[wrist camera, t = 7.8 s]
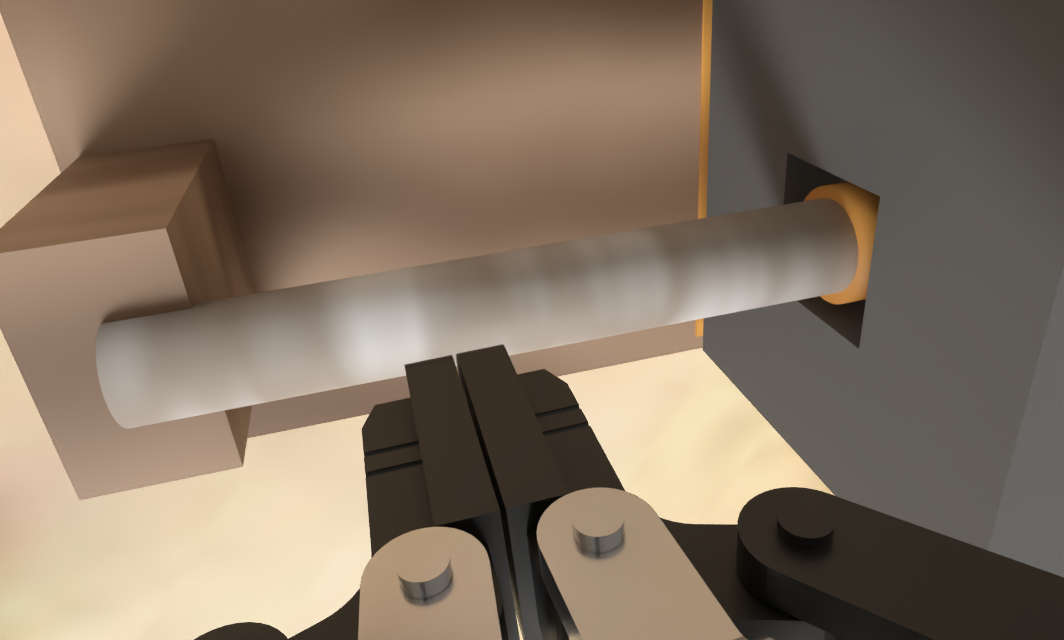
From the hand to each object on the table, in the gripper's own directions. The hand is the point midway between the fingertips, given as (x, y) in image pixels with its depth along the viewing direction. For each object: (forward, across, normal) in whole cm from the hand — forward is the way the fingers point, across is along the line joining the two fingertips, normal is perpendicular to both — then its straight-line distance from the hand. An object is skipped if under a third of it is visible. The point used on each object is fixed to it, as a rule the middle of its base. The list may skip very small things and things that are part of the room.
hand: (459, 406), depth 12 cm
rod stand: (+11, -4, 0) cm, 12 cm away
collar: (+9, -9, 0) cm, 13 cm away
